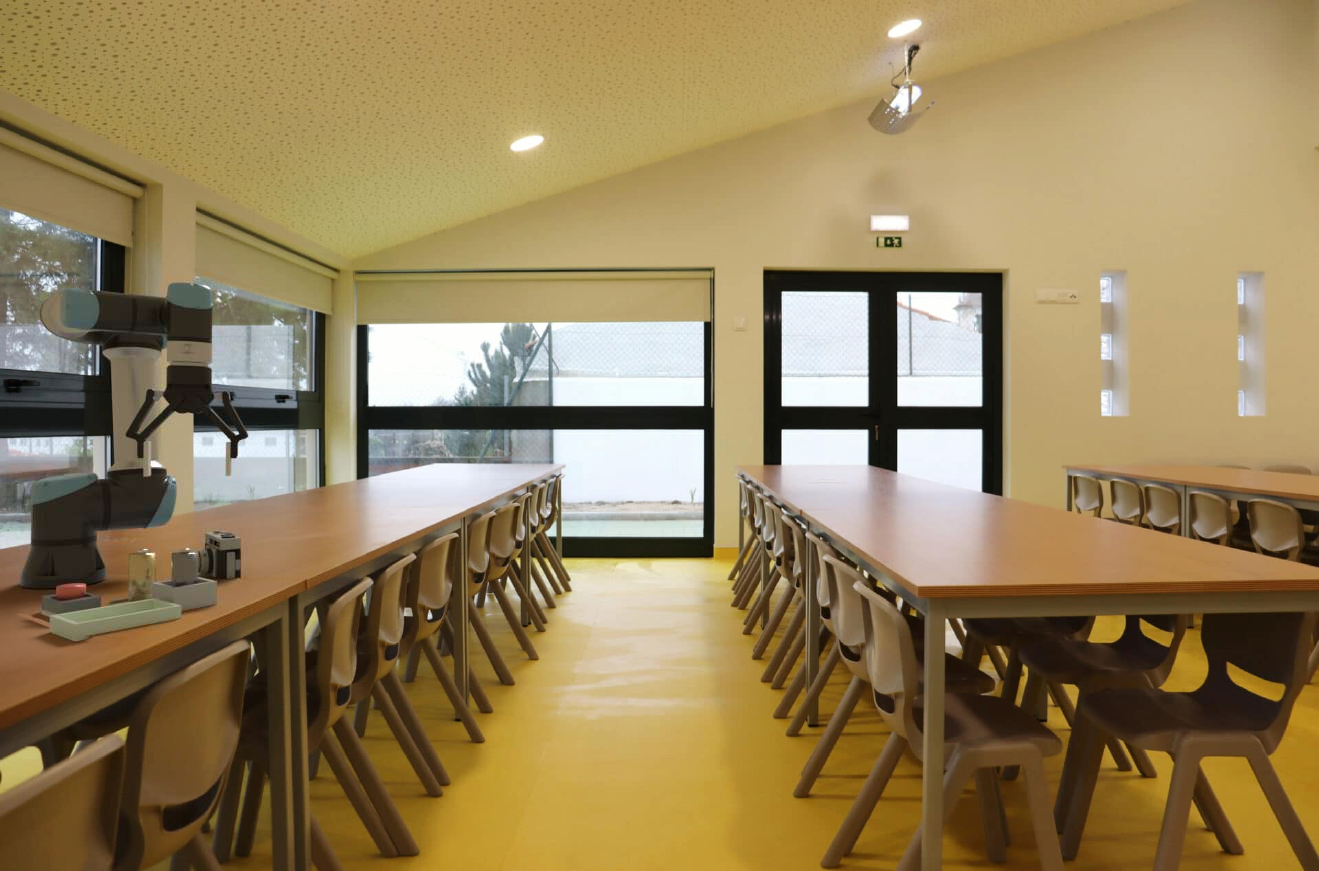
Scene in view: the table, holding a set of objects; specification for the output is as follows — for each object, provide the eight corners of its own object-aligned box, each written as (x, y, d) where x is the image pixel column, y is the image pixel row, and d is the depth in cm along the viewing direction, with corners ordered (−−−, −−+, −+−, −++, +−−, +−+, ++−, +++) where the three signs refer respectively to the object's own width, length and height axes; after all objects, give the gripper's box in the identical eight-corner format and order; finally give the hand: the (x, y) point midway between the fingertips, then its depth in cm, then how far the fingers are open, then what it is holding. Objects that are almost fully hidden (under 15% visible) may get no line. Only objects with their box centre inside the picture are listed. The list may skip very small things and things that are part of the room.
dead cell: (166, 605, 154) (167, 549, 153) (190, 601, 157) (191, 546, 157) (178, 608, 151) (179, 551, 151) (202, 604, 155) (202, 548, 155)
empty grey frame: (105, 606, 154) (105, 601, 154) (158, 597, 163) (158, 592, 162) (124, 612, 150) (124, 607, 150) (178, 603, 158) (178, 598, 158)
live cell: (124, 605, 156) (124, 549, 155) (148, 601, 159) (149, 546, 159) (135, 608, 153) (135, 552, 153) (159, 604, 157) (160, 549, 157)
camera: (185, 574, 186) (186, 531, 186) (225, 570, 192) (225, 528, 191) (201, 584, 176) (201, 538, 176) (242, 580, 181) (242, 535, 181)
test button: (52, 597, 147) (52, 586, 147) (79, 592, 150) (79, 582, 150) (62, 600, 144) (62, 589, 144) (90, 596, 148) (90, 585, 148)
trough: (49, 632, 136) (49, 615, 136) (155, 613, 150) (155, 598, 150) (74, 641, 131) (74, 624, 131) (181, 621, 145) (181, 605, 145)
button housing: (37, 615, 147) (37, 596, 147) (79, 608, 152) (79, 590, 152) (58, 623, 142) (58, 603, 142) (101, 616, 147) (101, 597, 147)
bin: (152, 609, 153) (152, 582, 153) (195, 601, 160) (195, 576, 160) (173, 615, 149) (173, 588, 149) (217, 607, 156) (217, 581, 155)
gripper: (107, 361, 146) (106, 477, 147) (260, 367, 156) (259, 476, 156) (117, 362, 153) (116, 474, 154) (263, 368, 163) (262, 473, 163)
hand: (188, 475), depth 155 cm, fingers open, 13 cm apart
